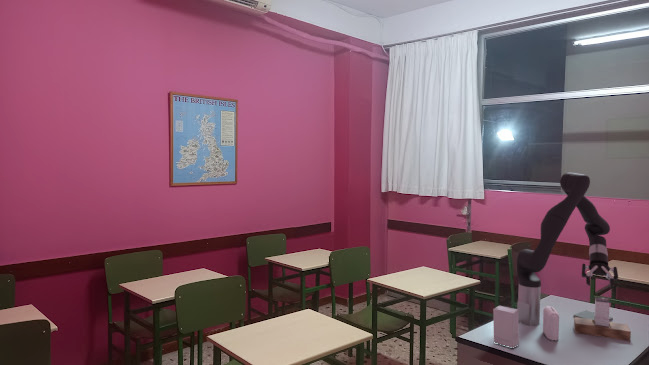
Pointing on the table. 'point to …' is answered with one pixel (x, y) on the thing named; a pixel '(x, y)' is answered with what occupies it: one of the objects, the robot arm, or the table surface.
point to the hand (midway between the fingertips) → (600, 286)
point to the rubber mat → (587, 315)
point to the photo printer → (551, 323)
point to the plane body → (602, 329)
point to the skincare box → (506, 326)
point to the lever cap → (601, 312)
